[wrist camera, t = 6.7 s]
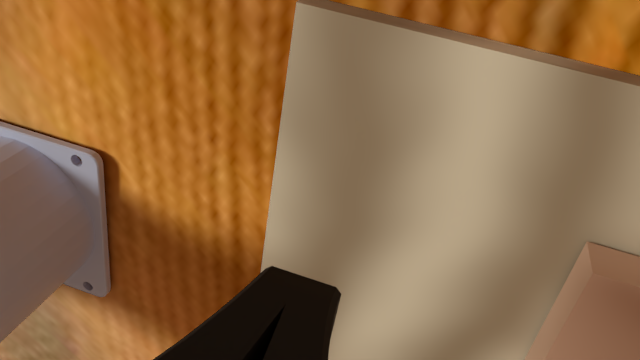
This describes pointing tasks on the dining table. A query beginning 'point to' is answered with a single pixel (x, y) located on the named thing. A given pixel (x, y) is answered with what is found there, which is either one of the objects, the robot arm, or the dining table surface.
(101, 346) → the dining table surface
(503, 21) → the dining table surface
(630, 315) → the block
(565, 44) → the dining table surface
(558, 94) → the board
